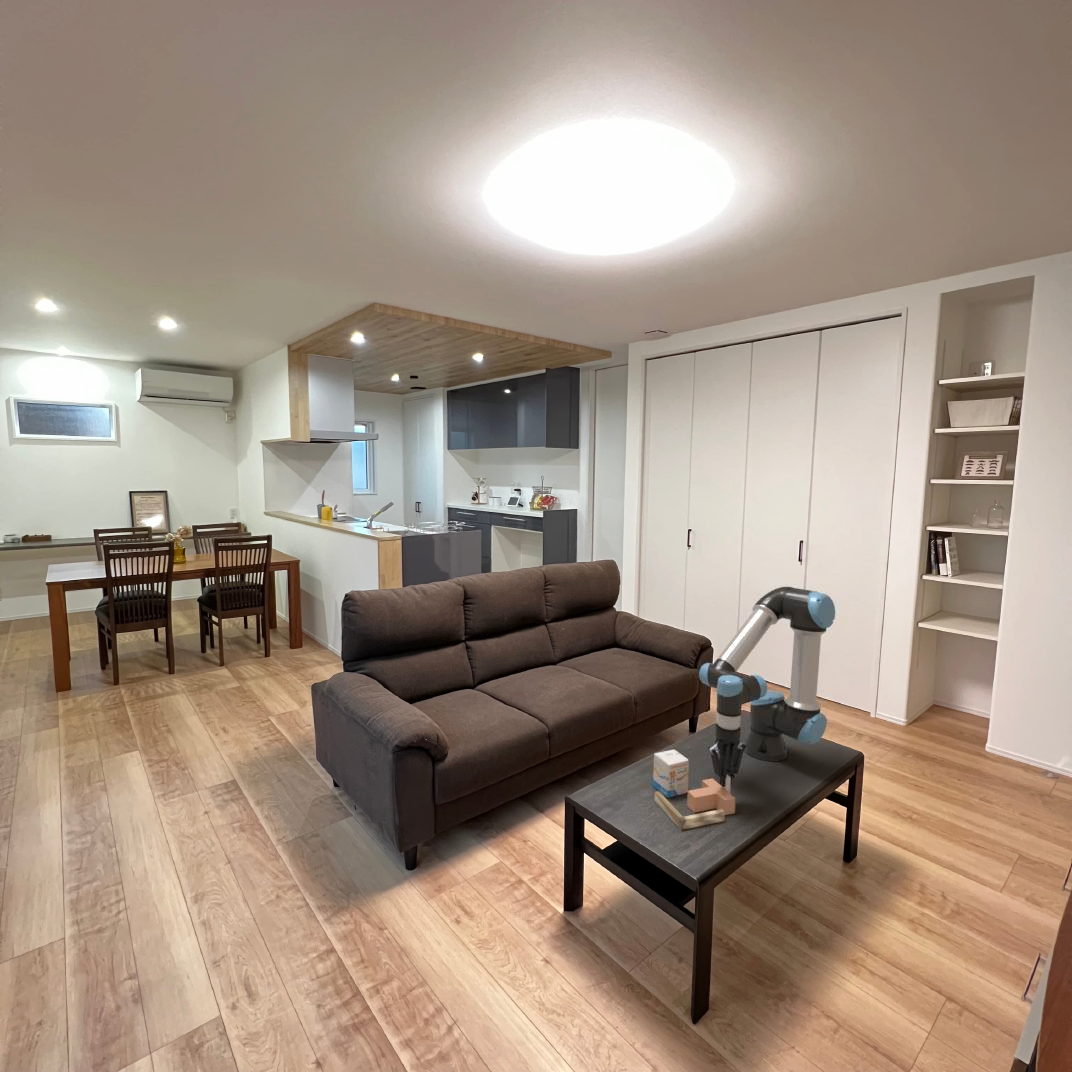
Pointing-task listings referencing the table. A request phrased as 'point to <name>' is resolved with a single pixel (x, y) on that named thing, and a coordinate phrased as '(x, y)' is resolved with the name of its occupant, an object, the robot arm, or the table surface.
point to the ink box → (670, 773)
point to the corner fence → (688, 820)
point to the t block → (711, 798)
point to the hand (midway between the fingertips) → (725, 794)
